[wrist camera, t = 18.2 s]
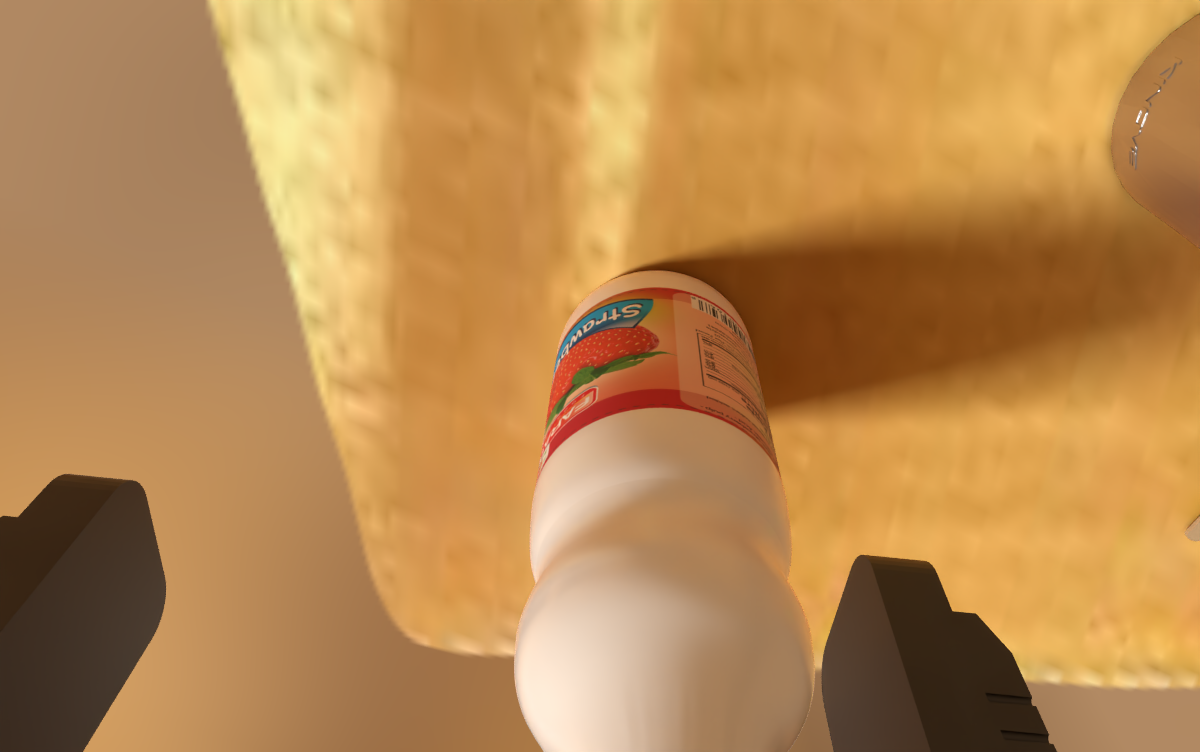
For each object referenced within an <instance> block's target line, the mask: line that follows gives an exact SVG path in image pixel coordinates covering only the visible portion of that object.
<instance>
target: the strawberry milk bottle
mask: <svg viewBox="0 0 1200 752" xmlns="http://www.w3.org/2000/svg"><path fill="white" fill-rule="evenodd" d="M791 556H792V543H791V529H790V521H789V513H788V506H787V500H786V495H785V491H784V487H783V484H782V480H781V476H780V472H779V467H778V462H777V458H776V453H775V449H774V444H773V440H772V435H771V430H770V426H769V421H768V417H767V412H766V408H765V403H764V399H763V394H762V390H761V385H760V380H759V376H758V371H757V367H756V362H755V358H754V353H753V349H752V344H751V340H750V337H749V334H748V332H747V329H746V327H745V325H744V323H743V321H742V319H741V317H740V316H739V314H738V312H737V311H736V309H735V308H734V307H733V306H732V304H731V303H730V302H729V301H728V300H727V299H726V298H725V297H724V296H723V295H721V294H720V293H719V292H718V291H717V290H715V289H714V288H713V287H711V286H709V285H708V284H706V283H704V282H702V281H700V280H698V279H696V278H694V277H691V276H688V275H685V274H681V273H677V272H671V271H660V270H651V271H640V272H634V273H630V274H626V275H623V276H620V277H617V278H615V279H613V280H610V281H608V282H607V283H605V284H603V285H601V286H600V287H598V288H597V289H595V290H594V291H593V292H591V293H590V294H589V295H588V296H587V297H586V298H585V299H584V300H583V301H582V302H581V303H580V304H579V305H578V306H577V308H576V309H575V310H574V312H573V313H572V315H571V316H570V318H569V320H568V322H567V324H566V326H565V328H564V331H563V333H562V336H561V338H560V342H559V346H558V351H557V358H556V364H555V370H554V376H553V382H552V389H551V395H550V401H549V407H548V414H547V420H546V426H545V433H544V439H543V445H542V452H541V458H540V464H539V471H538V477H537V482H536V487H535V492H534V497H533V504H532V513H531V526H530V559H531V567H532V571H533V576H534V580H535V583H536V584H535V586H534V588H533V590H532V592H531V594H530V596H529V598H528V600H527V603H526V605H525V607H524V610H523V613H522V616H521V619H520V622H519V626H518V630H517V635H516V646H515V660H514V661H515V662H514V675H515V685H516V691H517V696H518V700H519V704H520V707H521V710H522V713H523V716H524V718H525V720H526V723H527V725H528V727H529V728H530V730H531V732H532V734H533V736H534V737H535V739H536V740H537V742H538V743H539V745H540V747H541V748H542V749H543V751H544V752H788V751H789V750H790V748H791V747H792V745H793V744H794V742H795V740H796V739H797V737H798V735H799V733H800V731H801V729H802V727H803V725H804V723H805V721H806V718H807V715H808V712H809V709H810V705H811V701H812V697H813V690H814V682H815V665H814V655H813V647H812V639H811V633H810V628H809V625H808V622H807V619H806V616H805V614H804V611H803V609H802V606H801V604H800V602H799V600H798V598H797V596H796V594H795V592H794V590H793V589H792V587H791V586H790V584H789V582H788V581H787V580H788V577H789V572H790V566H791Z"/></svg>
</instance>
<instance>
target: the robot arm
mask: <svg viewBox="0 0 1200 752" xmlns="http://www.w3.org/2000/svg"><path fill="white" fill-rule="evenodd" d="M1111 151H1112V157H1113V163H1114V169H1115V171H1116V173H1117V175H1118V177H1119V180H1120V182H1121V184H1122V186H1123V187H1124V189H1125V190H1126V191H1127V192H1128V193H1129V194H1130V195H1131V197H1132V198H1133V199H1134V200H1135V201H1136V202H1138V203H1139V204H1140V205H1142V206H1143V207H1144V208H1146V209H1147V210H1148V211H1150V212H1151V213H1153V214H1154V215H1155V216H1157V217H1158V218H1159V219H1161V220H1162V221H1163V222H1165V223H1166V224H1168V225H1169V226H1170V227H1172V228H1173V229H1174V230H1176V231H1177V232H1178V233H1180V234H1181V235H1182V236H1183V237H1185V238H1186V239H1187V240H1189V241H1190V242H1191V243H1193V244H1194V245H1195V246H1197V247H1198V248H1199V249H1200V14H1199V15H1197V16H1195V17H1194V18H1192V19H1191V20H1189V21H1188V22H1187V23H1185V24H1184V25H1183V26H1181V27H1180V28H1178V29H1177V30H1176V31H1174V32H1173V33H1171V34H1170V35H1169V36H1168V37H1167V38H1166V39H1165V40H1164V41H1163V42H1162V43H1161V44H1160V45H1159V46H1158V47H1157V48H1156V49H1155V50H1154V51H1153V52H1152V53H1151V54H1150V55H1149V56H1148V57H1147V58H1146V60H1145V61H1144V63H1143V64H1142V65H1141V67H1140V68H1139V69H1138V71H1137V72H1136V73H1135V75H1134V76H1133V77H1132V79H1131V81H1130V83H1129V85H1128V87H1127V89H1126V91H1125V93H1124V95H1123V97H1122V99H1121V101H1120V103H1119V106H1118V110H1117V113H1116V116H1115V120H1114V123H1113V129H1112V143H1111ZM165 597H166V582H165V575H164V571H163V567H162V562H161V558H160V554H159V549H158V545H157V541H156V536H155V532H154V528H153V523H152V519H151V515H150V510H149V506H148V501H147V497H146V494H145V491H144V489H143V487H142V486H141V485H140V484H139V483H138V482H136V481H133V480H123V479H113V478H103V477H92V476H83V475H72V474H64V475H61V476H58V477H57V478H55V479H54V480H52V481H51V482H50V483H49V484H48V485H47V486H46V488H44V489H43V490H42V492H41V493H40V494H39V495H38V496H37V497H36V498H35V499H34V500H33V501H32V502H31V504H30V505H29V506H28V507H27V508H26V509H25V510H24V511H23V512H22V513H21V514H20V516H19V517H10V516H2V517H0V752H83V751H84V749H85V747H86V746H87V744H88V742H89V741H90V739H91V737H92V736H93V734H94V733H95V731H96V729H97V728H98V726H99V724H100V723H101V721H102V720H103V718H104V716H105V715H106V713H107V711H108V710H109V708H110V706H111V705H112V703H113V702H114V700H115V698H116V696H117V695H118V693H119V692H120V690H121V689H122V687H123V685H124V684H125V682H126V680H127V679H128V677H129V675H130V674H131V672H132V671H133V669H134V667H135V666H136V664H137V662H138V661H139V659H140V657H141V656H142V654H143V652H144V651H145V649H146V648H147V646H148V644H149V643H150V641H151V640H152V638H153V636H154V634H155V632H156V630H157V628H158V625H159V622H160V620H161V617H162V613H163V609H164V604H165ZM822 695H823V702H824V708H825V712H826V717H827V722H828V727H829V731H830V736H831V740H832V745H833V750H834V752H1057V751H1056V749H1055V747H1054V745H1053V744H1049V741H1048V736H1049V734H1048V731H1047V730H1046V727H1045V725H1044V723H1043V720H1042V719H1041V716H1040V714H1039V712H1038V710H1037V707H1036V706H1032V703H1031V699H1032V696H1031V694H1030V692H1029V690H1028V687H1027V685H1026V683H1025V681H1024V679H1023V677H1022V674H1021V672H1020V670H1019V668H1018V666H1017V663H1016V661H1015V659H1014V657H1013V655H1012V653H1011V652H1010V651H1009V649H1008V648H1007V647H1006V646H1005V645H1004V644H1003V643H1002V642H1001V641H1000V640H999V638H998V637H997V636H996V635H995V634H994V633H993V632H992V631H991V630H990V629H989V627H988V626H987V625H986V624H985V623H984V622H983V621H982V620H981V619H980V618H979V616H978V615H977V614H974V613H964V612H954V611H952V609H951V607H950V604H949V602H948V599H947V597H946V595H945V592H944V590H943V587H942V585H941V582H940V580H939V577H938V575H937V573H936V571H935V569H934V567H933V566H932V565H931V564H930V563H929V562H927V561H919V560H909V559H899V558H889V557H879V556H869V555H860V556H858V557H857V558H856V560H855V561H854V563H853V565H852V568H851V571H850V574H849V577H848V580H847V583H846V586H845V589H844V592H843V595H842V598H841V601H840V604H839V607H838V610H837V613H836V616H835V619H834V622H833V624H832V627H831V630H830V633H829V636H828V639H827V642H826V646H825V650H824V655H823V662H822Z"/></svg>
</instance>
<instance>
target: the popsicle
mask: <svg viewBox="0 0 1200 752" xmlns="http://www.w3.org/2000/svg"><path fill="white" fill-rule="evenodd" d="M1185 535H1186V536H1187V538H1188V539H1190V540H1193V541H1200V516H1199V517H1198V518H1197V519H1196V520H1195V521H1194V523H1193V524H1192V525H1191V526H1190V527H1189V528H1188V529H1187V530H1186V531H1185Z"/></svg>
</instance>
